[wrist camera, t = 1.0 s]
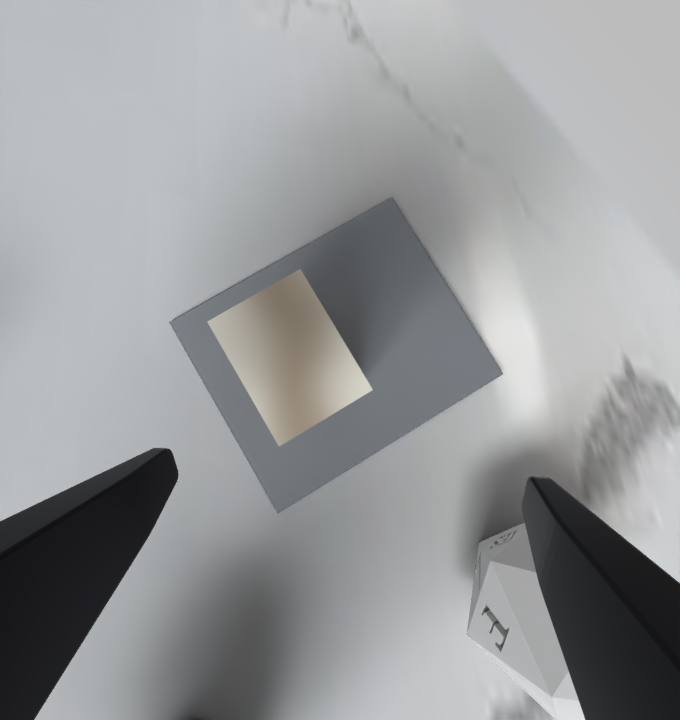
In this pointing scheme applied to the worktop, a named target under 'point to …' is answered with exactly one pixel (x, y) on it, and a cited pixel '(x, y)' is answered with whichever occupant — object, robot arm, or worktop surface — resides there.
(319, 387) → the wooden block
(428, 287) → the rubber mat
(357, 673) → the worktop surface
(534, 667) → the die
